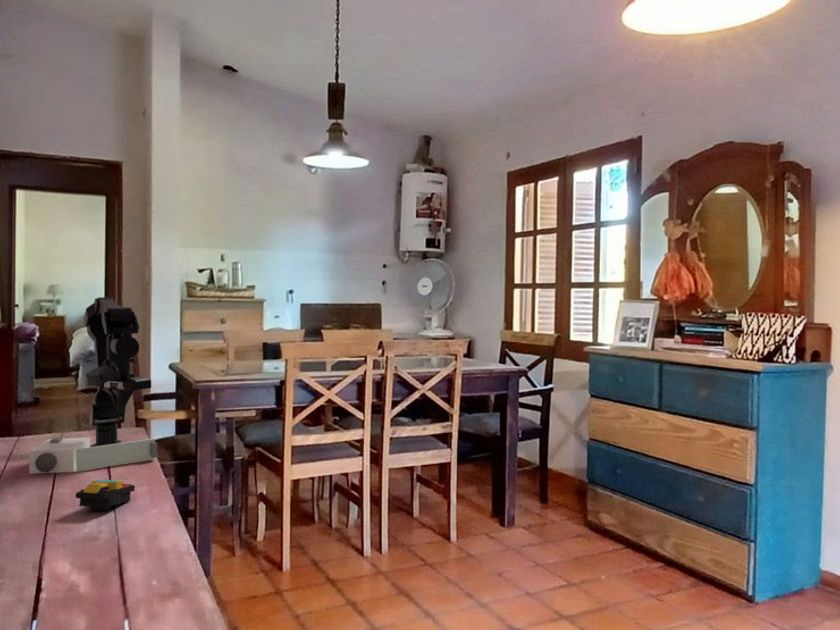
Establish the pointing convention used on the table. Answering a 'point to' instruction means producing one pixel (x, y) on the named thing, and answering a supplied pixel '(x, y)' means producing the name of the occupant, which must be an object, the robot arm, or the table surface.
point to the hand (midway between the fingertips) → (119, 413)
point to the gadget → (105, 494)
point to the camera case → (56, 455)
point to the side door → (115, 454)
